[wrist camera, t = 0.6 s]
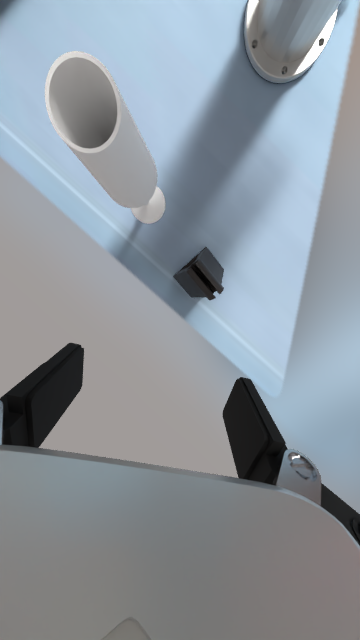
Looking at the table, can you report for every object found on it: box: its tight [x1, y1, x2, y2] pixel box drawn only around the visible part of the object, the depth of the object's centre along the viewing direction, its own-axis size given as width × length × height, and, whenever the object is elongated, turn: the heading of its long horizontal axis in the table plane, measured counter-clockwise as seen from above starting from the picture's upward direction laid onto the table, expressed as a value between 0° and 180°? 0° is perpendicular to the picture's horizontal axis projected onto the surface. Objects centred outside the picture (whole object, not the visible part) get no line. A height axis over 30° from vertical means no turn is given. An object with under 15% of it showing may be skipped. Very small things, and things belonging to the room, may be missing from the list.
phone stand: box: [173, 247, 224, 300], centre depth 33 cm, size 9×6×12 cm, turn 131°
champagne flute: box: [45, 51, 165, 224], centre depth 22 cm, size 7×7×24 cm
